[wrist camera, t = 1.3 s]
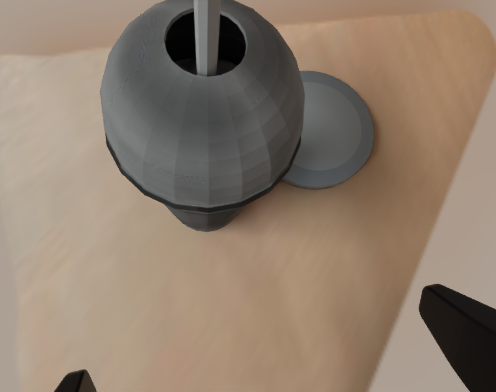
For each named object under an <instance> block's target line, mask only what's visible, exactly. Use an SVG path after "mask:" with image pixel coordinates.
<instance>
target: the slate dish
mask: <svg viewBox="0 0 496 392" xmlns="http://www.w3.org/2000/svg"><path fill="white" fill-rule="evenodd" d="M299 72H300V75H301V79H302V82H303V86H304V92H305V103H304V120H303V130H302V133H301V145H300V147H299V150H298V152H297V154H296V157H295V159H294V161H293V164H292V166H291V168H290V170H289V172H288V173H287V174H286V175H285V176H284V177H283V178H282V179H281V180H282V181H284V182H286V183H288V184H290V185H293V186H295V187H299V188H303V189H311V190H317V189H326V188H330V187H334V186H336V185H339V184H341V183H343V182H344V181H346V180H347V179H349V178H350V177H351V176H352V175H354V174H355V173H356V172H357V171H358V170H359V169H360V168H361V167H362V166H363V165H364V164H365V162H366V161H367V159H368V157H369V155H370V153H371V151H372V147H373V143H374V126H373V121H372V117H371V114H370V112H369V110H368V108H367V106H366V104H365V103H364V101H363V100H362V98H361V97H360V96H359V95H358V94H357V93H356V92H355V91H354V90H353V89H352V88H351V87H350V86H349V85H347V84H346V83H344V82H343V81H341V80H339V79H337V78H335V77H333V76H330V75H328V74H324V73H321V72H314V71H299Z"/></svg>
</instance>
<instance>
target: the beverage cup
mask: <svg viewBox="0 0 496 392" xmlns="http://www.w3.org/2000/svg"><path fill="white" fill-rule="evenodd" d="M100 96H101V104H102V113H103V121H104V129H105V135H106V144H107V147H108V149H109V151H110V153H111V155H112V157H113V158H114V160H115V162H116V164H117V166H118V168H119V170H120V172H121V173H122V174H123V175H124V176H125V177H126V178H127V179H128V180H129V181H130V182H131V183H132V184H133V185H135V186H136V187H137V188H138V189H139V190H140V191H141V192H142V193H143V194H144V195H146V196H148V197H150V198H152V199H155V200H157V201H159V202H161V203H163V204H165V206H166V207H167V208H168V209H169V210H170V211H171V212H172V213H173V214H174V215H175V216H176V217H177V218H178V219H179V220H180V221H181V222H182V223H183V224H185V225H186V226H188V227H190V228H192V229H194V230H196V231H205V232H209V231H214V230H218V229H220V228H222V227H224V226H225V225H227V224H228V223H230V222H231V221H232V220H233V219H234V218H235V217H236V216H237V214H238V213H239V212H240V211H241V210H242V209H243V208H244V207H245V205H246V204H248V203H250V202H252V201H254V200H256V199H258V198H260V197H261V196H263V195H265V194H267V193H269V192H270V191H271V190H272V189H273V188H274V187H275V186H276V184H277V183H278V182H279V181H280V180H281V179H282V178H283V177H284V176H285V175H286V174H287V173H288V172H289V170H290V168H291V166H292V164H293V161H294V159H295V157H296V154H297V152H298V150H299V147H300V145H301V133H302V130H303V120H304V103H305V92H304V86H303V82H302V79H301V75H300V72H299V68H298V65H297V61H296V59H295V57H294V55H293V53H292V51H291V49H290V48H289V46H288V45H287V43H286V42H285V40H284V39H283V37H282V36H281V35H280V33H279V32H278V30H277V29H276V28H275V27H274V26H273V25H272V24H271V23H269V22H268V21H267V20H265V19H264V18H263V17H262V16H261V15H259V14H258V13H257V12H256V11H255V10H254V9H252V8H250V7H247V6H245V5H243V4H241V3H239V2H236V1H234V0H166V1H163V2H160V3H157V4H155V5H154V6H152V7H151V8H150V9H148V10H147V11H145V12H144V13H143V14H141V15H140V16H139V17H137V18H136V19H135V20H133V21H132V22H131V23H130V24H129V25H128V26H127V27H126V29H125V30H124V32H123V33H122V35H121V36H120V38H119V39H118V40H117V42H116V43H115V45H114V46H113V48H112V50H111V52H110V53H109V56H108V60H107V64H106V68H105V72H104V75H103V79H102V84H101V89H100Z"/></svg>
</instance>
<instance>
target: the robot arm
mask: <svg viewBox="0 0 496 392" xmlns="http://www.w3.org/2000/svg"><path fill="white" fill-rule="evenodd" d="M419 312H420V315H421V317H422V319H423V320H424V322H425V324H426V325H427V327H428V328H429V330H430V332H431V334H432V335H433V337H434V339H435V340H436V342H437V344H438V345H439V347H440V348H441V350H442V352H443V353H444V355H445V357H446V358H447V360H448V362H449V363H450V365H451V366H452V368H453V369H454V371H455V372H456V373H457V375H458V376H459V378H460V379H461V380H462V382H463V383H464V384H465V386H466V387H467V388H468V390H469V391H470V392H496V309H494V308H492V307H489V306H487V305H485V304H483V303H480V302H478V301H476V300H474V299H472V298H470V297H467V296H465V295H463V294H461V293H459V292H456V291H454V290H452V289H450V288H447V287H445V286H443V285H440V284H433V285H429V286H425V287H424V288H423V290H422V295H421V300H420V304H419ZM54 392H97V391H96V388H95V386H94V384H93V382H92V380H91V377H90V375H89V373H88V371H87V370H85V369H84V370H79V371H75V372H71V373H68V374H67V375H66V376H65V377H64V378H63V380H62V381H61V383H60V384H59V385H58V387H57V388H56V390H55V391H54Z"/></svg>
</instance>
